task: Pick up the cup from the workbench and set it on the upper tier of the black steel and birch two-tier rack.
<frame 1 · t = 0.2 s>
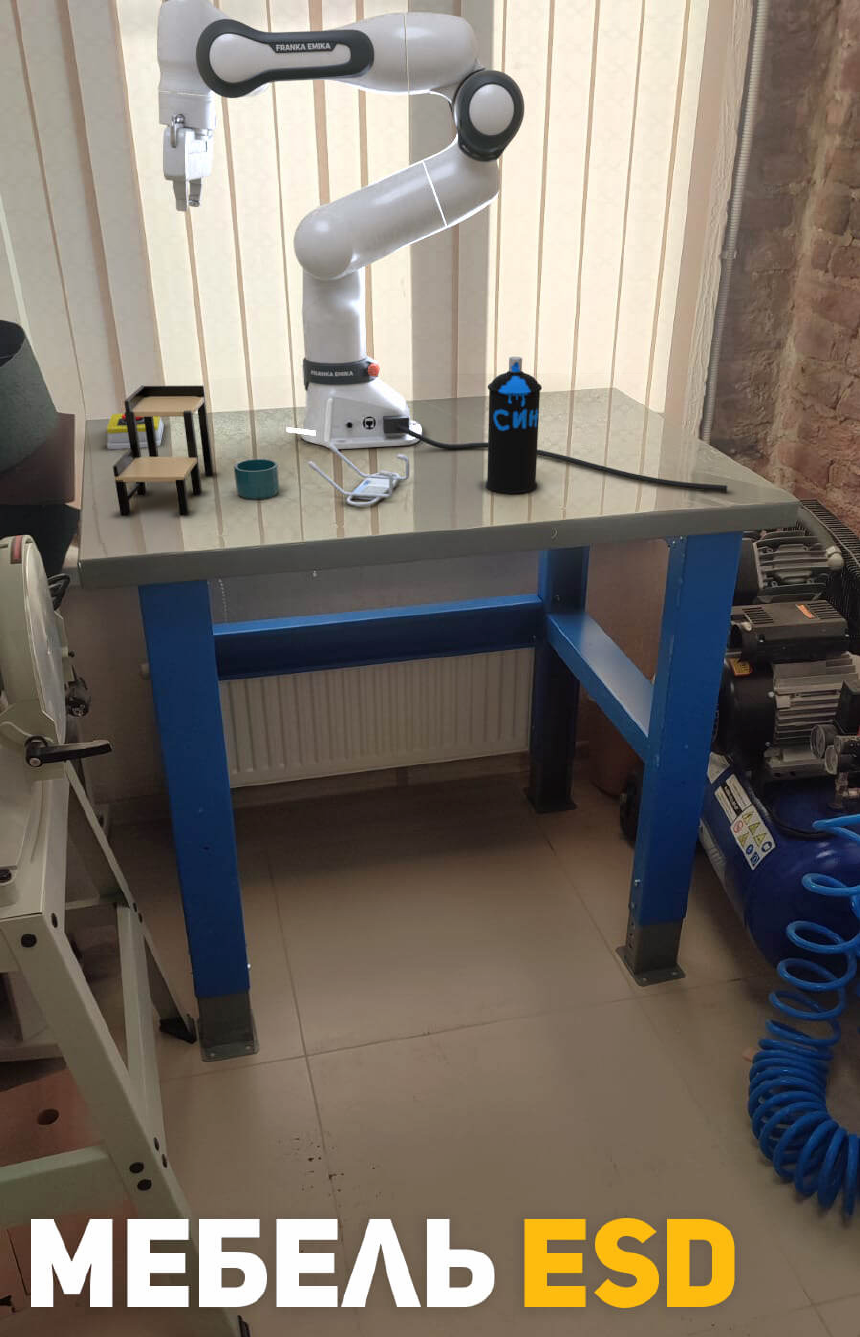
hand: (188, 209, 168), 39 cm above the table, tool pointing down, fingers open, 8 cm apart
cup: (258, 493, 157), on the table
emergency button: (136, 437, 187), on the table
wall mount rack: (360, 492, 158), on the table
rack: (169, 494, 158), on the table
aerosol can: (511, 487, 160), on the table
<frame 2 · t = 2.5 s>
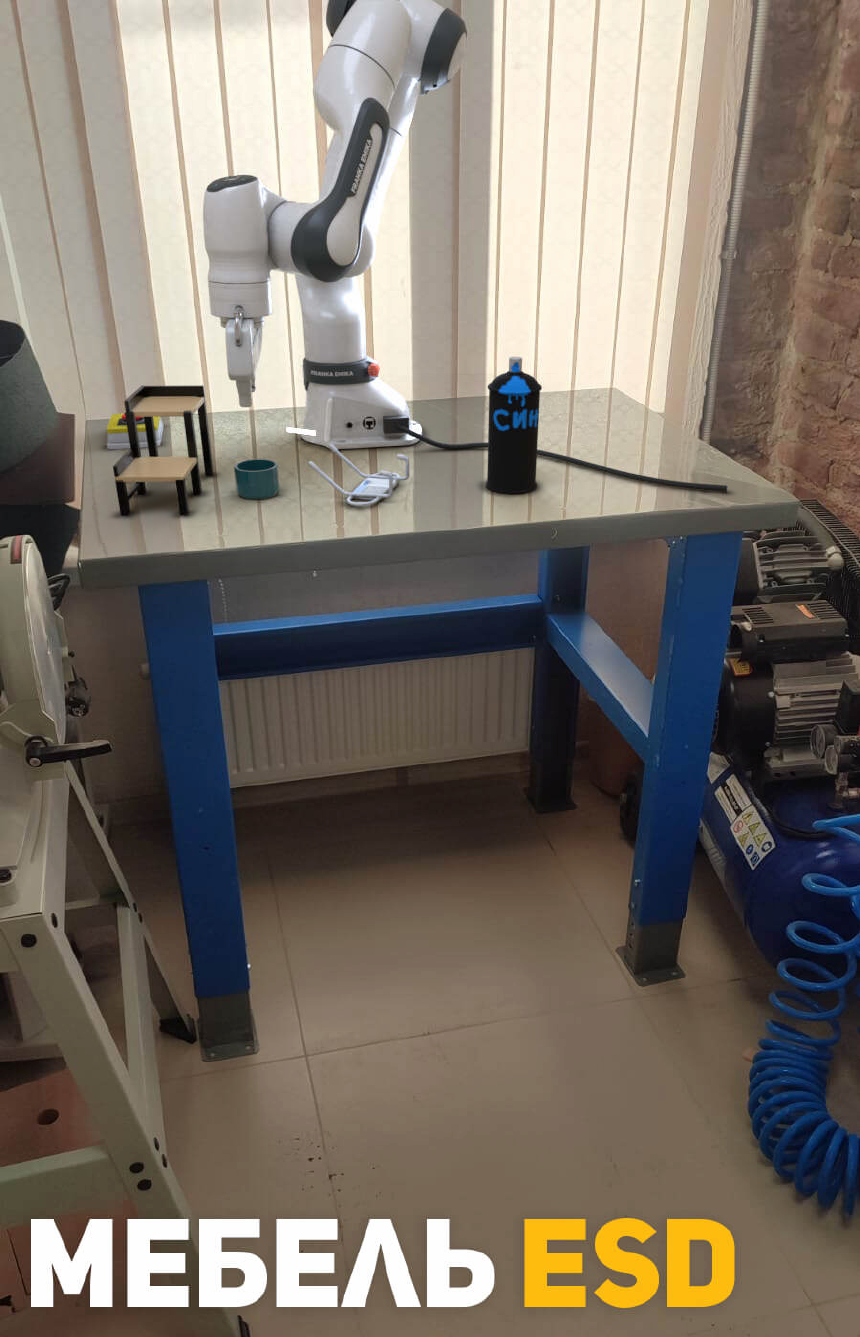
hand: (248, 398, 150), 15 cm above the table, tool pointing down, fingers open, 8 cm apart
nothing on the table moved.
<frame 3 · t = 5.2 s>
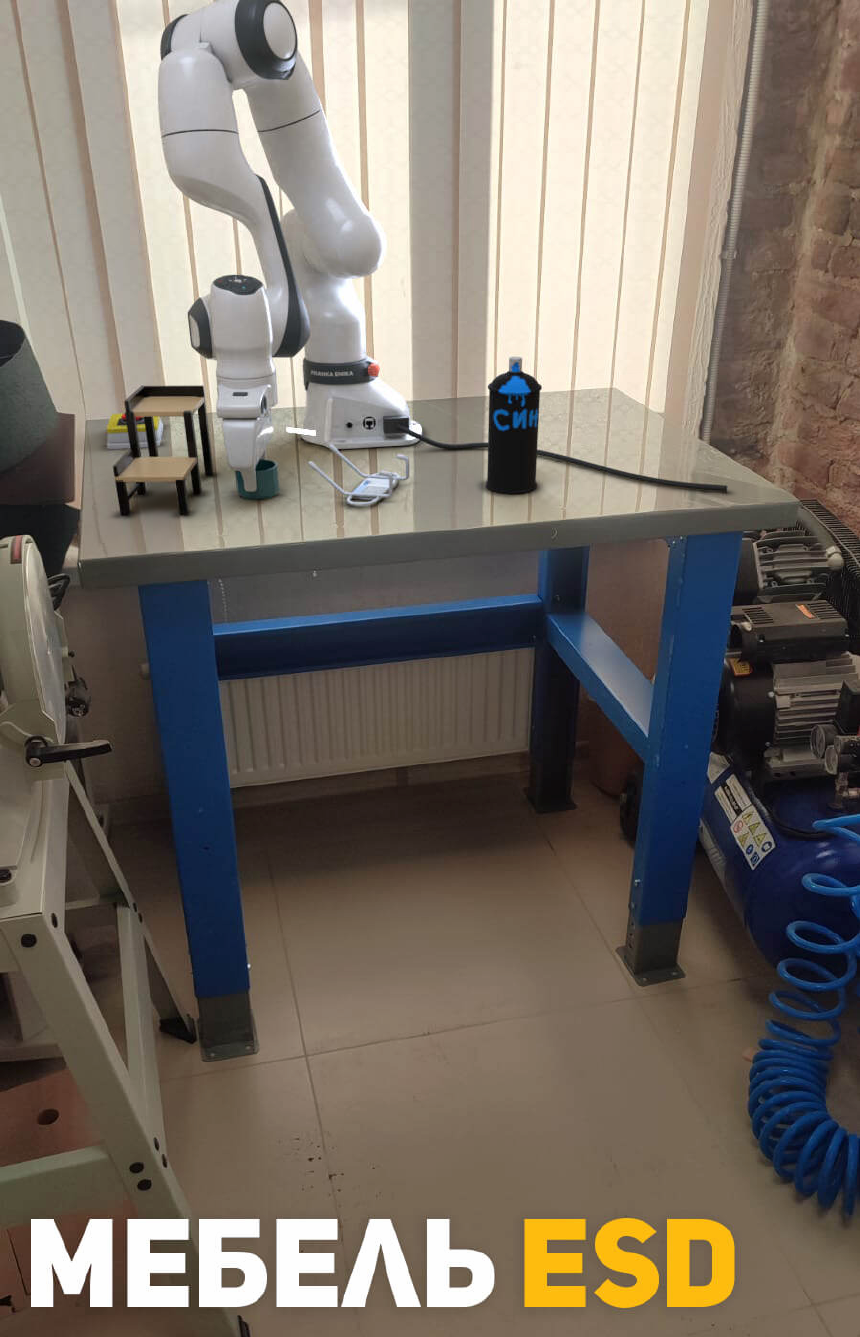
hand: (255, 482, 156), 2 cm above the table, tool pointing down, fingers closed on cup, 6 cm apart
cup: (258, 493, 157), on the table, touching gripper
everything else where it was.
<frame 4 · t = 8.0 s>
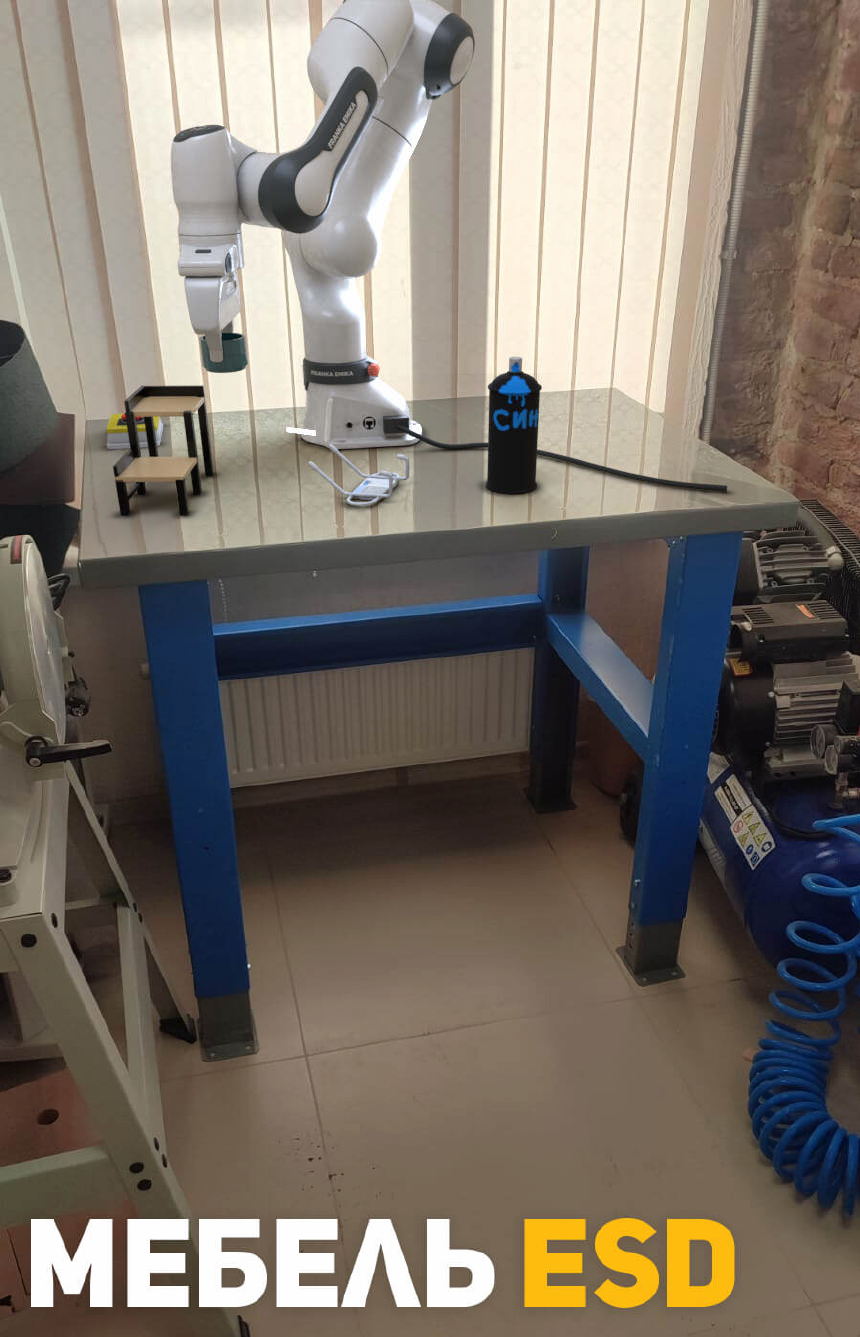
hand: (222, 355, 149), 21 cm above the table, tool pointing down, fingers closed on cup, 6 cm apart
cup: (225, 368, 150), point 19 cm above the table, touching gripper
everything else where it was.
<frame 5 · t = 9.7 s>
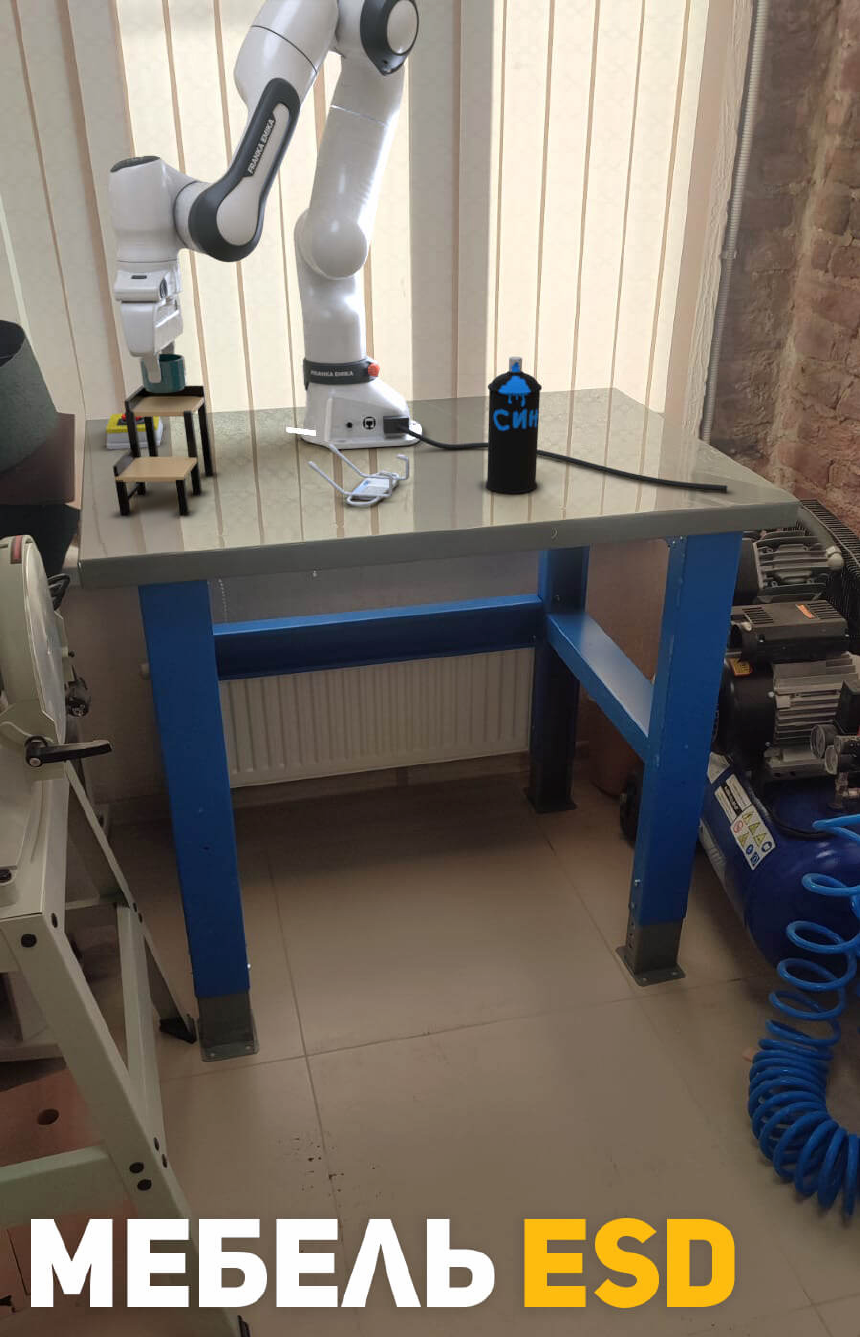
hand: (162, 376, 154), 17 cm above the table, tool pointing down, fingers closed on cup, 6 cm apart
cup: (165, 388, 155), point 15 cm above the table, touching gripper
everything else where it was.
when the fingers open (15 cm above the table, at t = 11.0 s): cup stays where it is, resting on rack.
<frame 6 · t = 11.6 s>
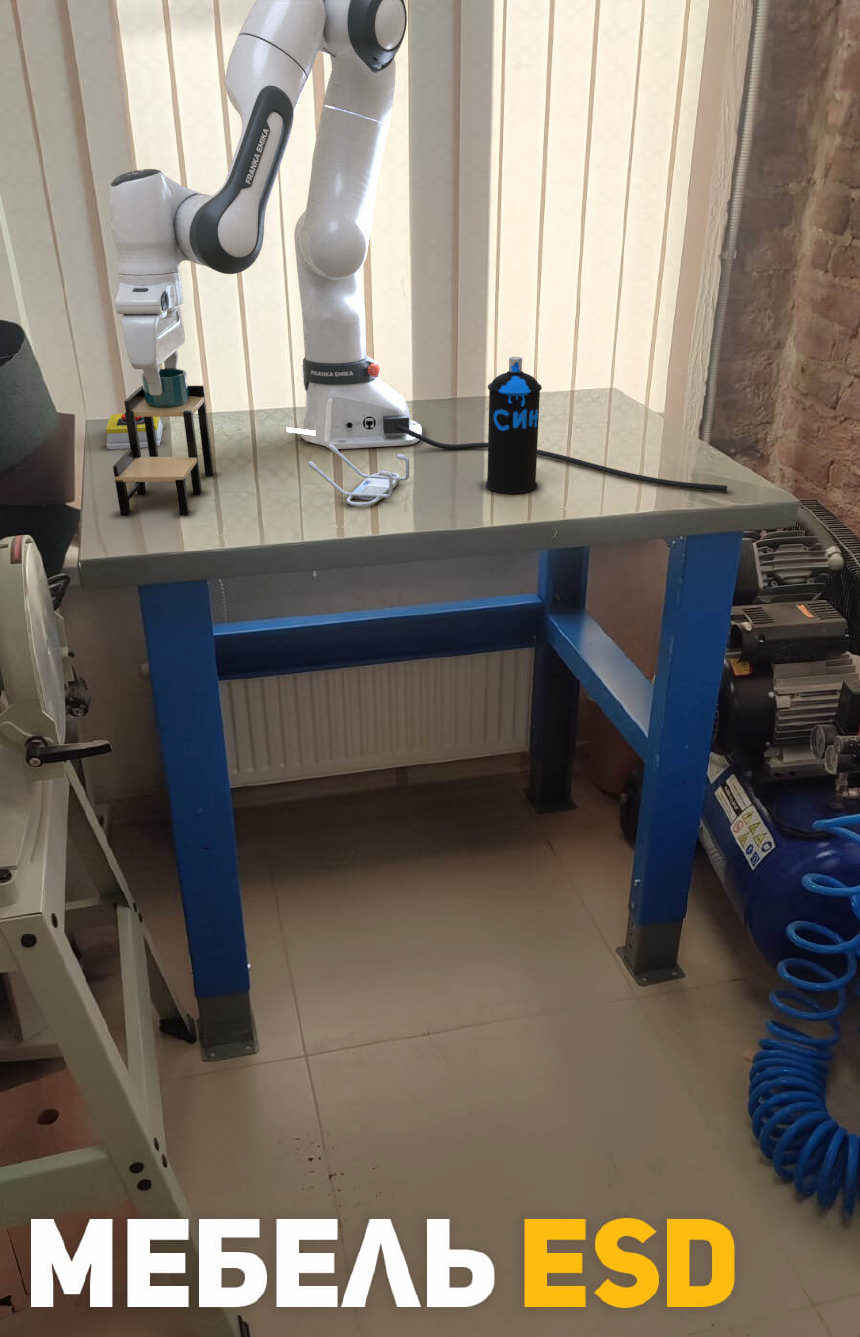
hand: (164, 387, 155), 15 cm above the table, tool pointing down, fingers open, 8 cm apart
cup: (167, 403, 156), point 13 cm above the table, touching rack
everything else where it was.
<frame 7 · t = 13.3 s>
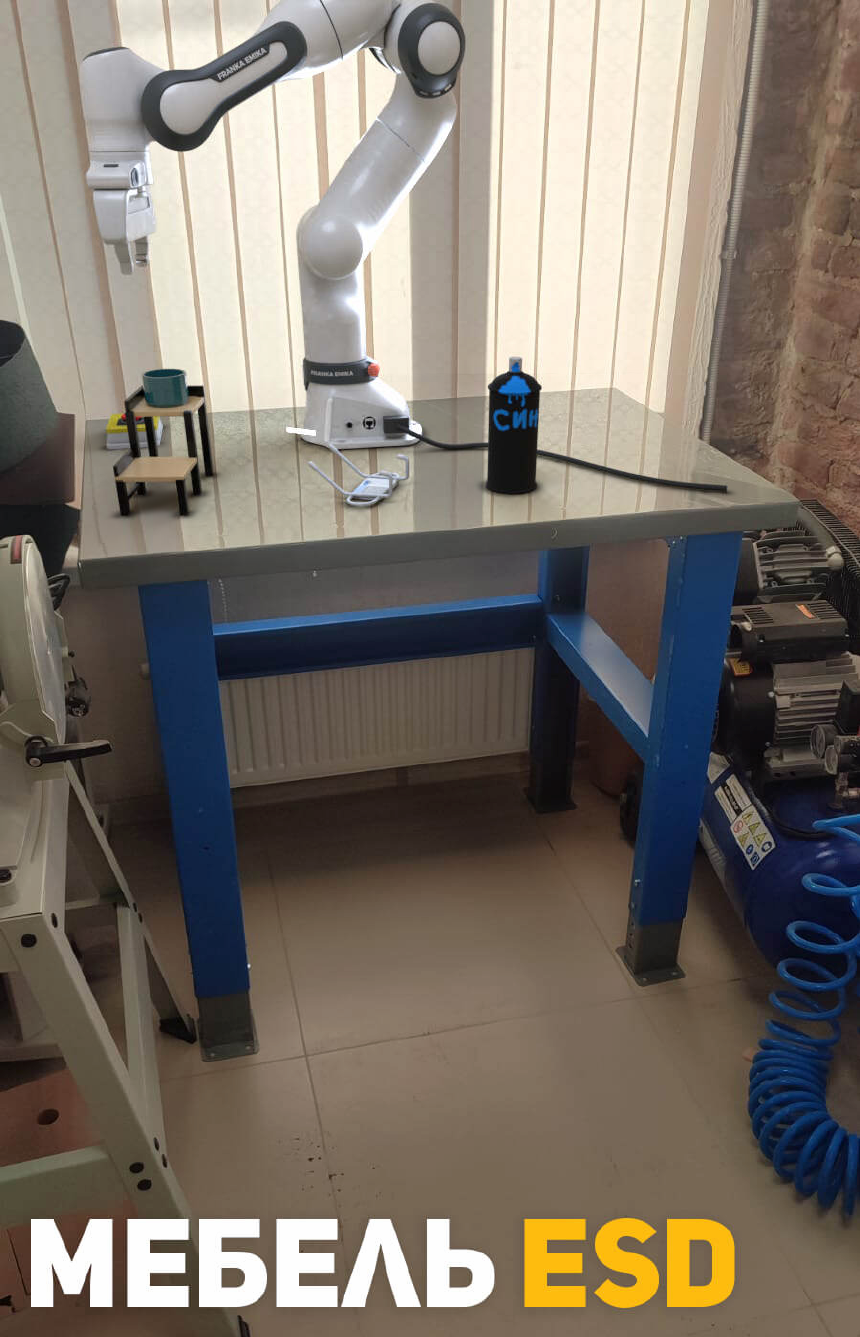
hand: (136, 270, 158), 31 cm above the table, tool pointing down, fingers open, 8 cm apart
nothing on the table moved.
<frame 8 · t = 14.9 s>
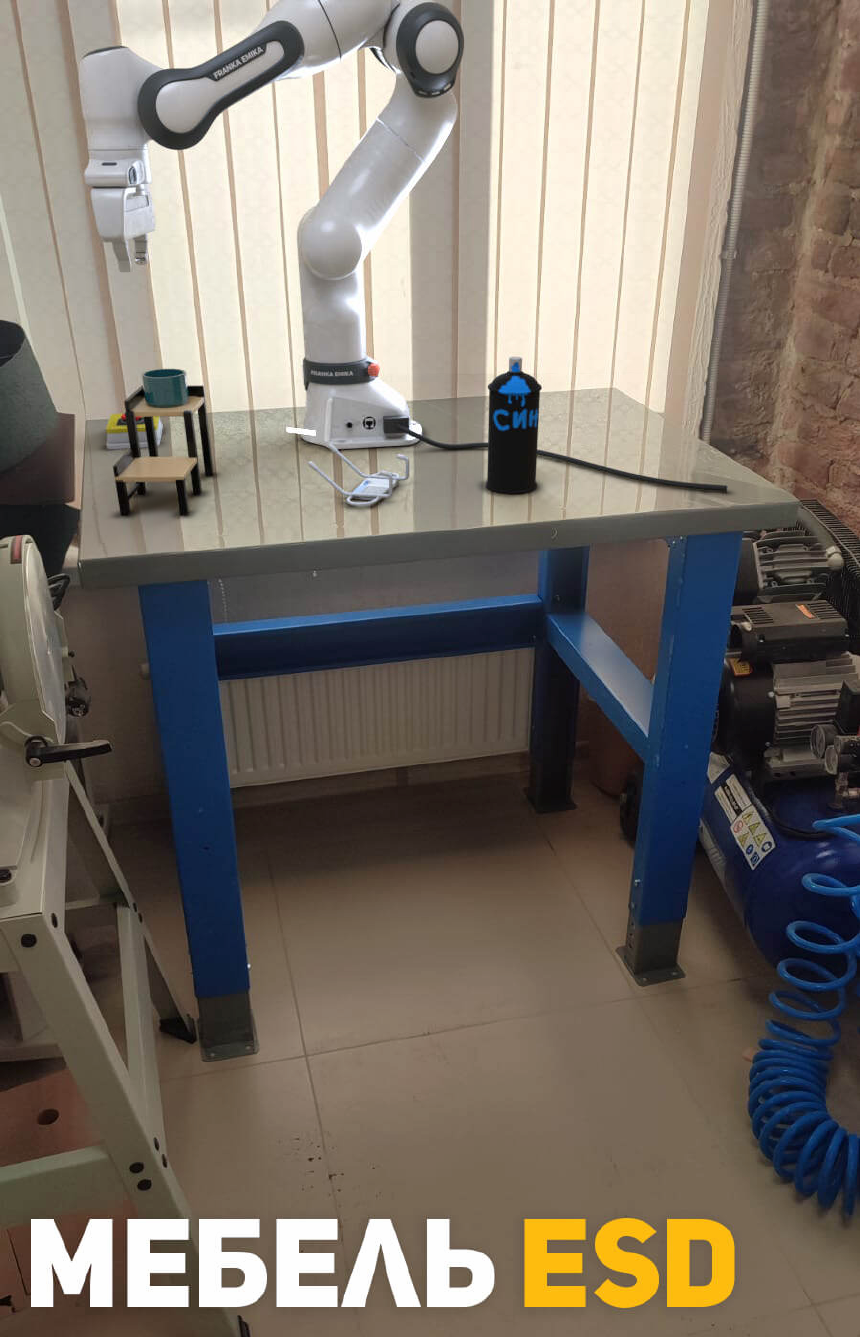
hand: (134, 268, 159), 31 cm above the table, tool pointing down, fingers open, 8 cm apart
nothing on the table moved.
at the end: cup inside the target area on the rack (0.2 cm from its centre), point 13.0 cm above the rack's base; cup tilted 0°; the gripper is holding nothing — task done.
